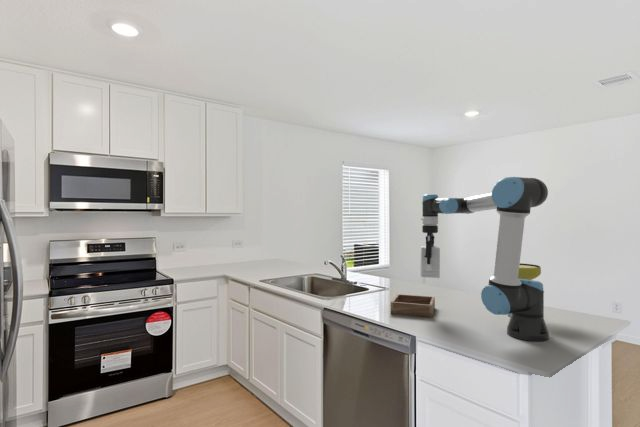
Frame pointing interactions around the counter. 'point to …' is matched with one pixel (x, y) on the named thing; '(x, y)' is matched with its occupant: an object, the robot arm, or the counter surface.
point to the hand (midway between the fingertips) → (429, 269)
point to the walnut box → (413, 305)
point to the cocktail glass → (528, 273)
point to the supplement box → (435, 262)
